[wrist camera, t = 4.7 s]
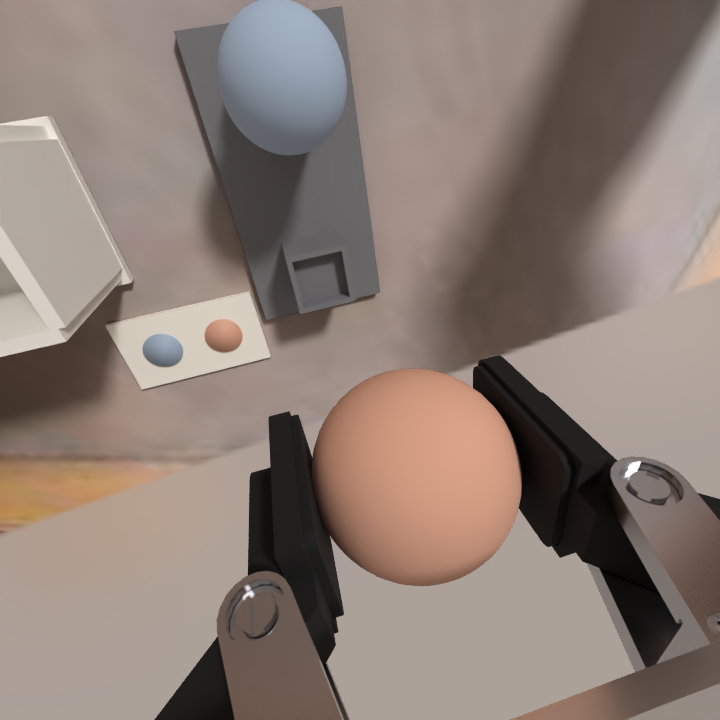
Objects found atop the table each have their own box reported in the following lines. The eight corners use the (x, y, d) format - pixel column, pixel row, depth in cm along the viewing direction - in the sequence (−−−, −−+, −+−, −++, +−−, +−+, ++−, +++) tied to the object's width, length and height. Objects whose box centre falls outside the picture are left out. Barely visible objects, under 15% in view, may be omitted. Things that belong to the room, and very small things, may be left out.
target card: (249, 291, 25) (249, 293, 25) (270, 355, 28) (271, 358, 27) (106, 324, 24) (104, 327, 24) (143, 387, 27) (141, 390, 26)
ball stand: (339, 9, 19) (357, -16, 16) (377, 289, 27) (394, 311, 24) (176, 33, 18) (158, 12, 15) (265, 316, 26) (267, 342, 23)
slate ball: (322, 9, 16) (346, -34, 12) (343, 142, 19) (368, 145, 15) (204, 26, 16) (186, -12, 12) (242, 161, 18) (239, 170, 14)
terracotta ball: (461, 315, 11) (595, 437, 6) (462, 444, 13) (557, 589, 9) (281, 360, 10) (300, 526, 6) (321, 484, 13) (352, 659, 9)
